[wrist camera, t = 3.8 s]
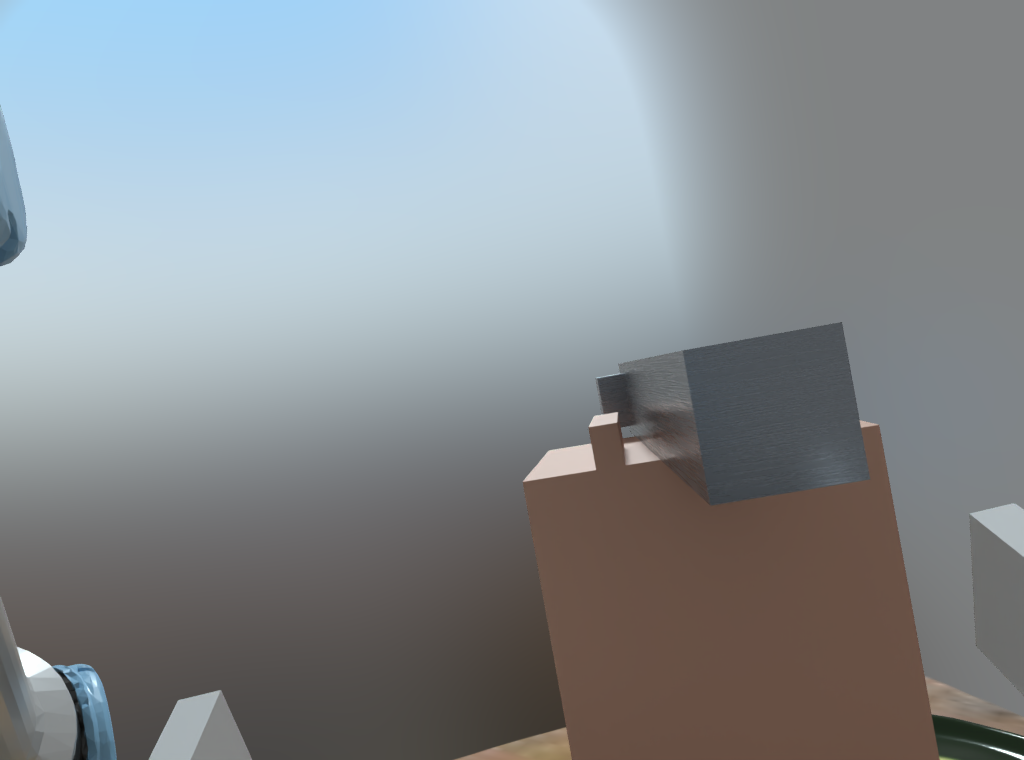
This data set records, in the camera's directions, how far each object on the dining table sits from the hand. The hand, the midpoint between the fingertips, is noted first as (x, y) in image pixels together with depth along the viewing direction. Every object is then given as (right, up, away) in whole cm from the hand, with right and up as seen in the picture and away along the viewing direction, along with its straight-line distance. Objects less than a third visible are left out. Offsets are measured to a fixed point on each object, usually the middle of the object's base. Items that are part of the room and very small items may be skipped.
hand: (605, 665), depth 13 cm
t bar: (+5, +3, +15) cm, 16 cm away
